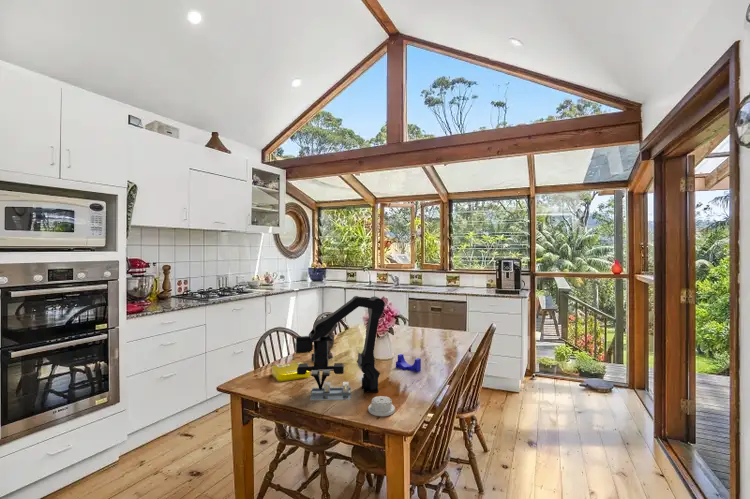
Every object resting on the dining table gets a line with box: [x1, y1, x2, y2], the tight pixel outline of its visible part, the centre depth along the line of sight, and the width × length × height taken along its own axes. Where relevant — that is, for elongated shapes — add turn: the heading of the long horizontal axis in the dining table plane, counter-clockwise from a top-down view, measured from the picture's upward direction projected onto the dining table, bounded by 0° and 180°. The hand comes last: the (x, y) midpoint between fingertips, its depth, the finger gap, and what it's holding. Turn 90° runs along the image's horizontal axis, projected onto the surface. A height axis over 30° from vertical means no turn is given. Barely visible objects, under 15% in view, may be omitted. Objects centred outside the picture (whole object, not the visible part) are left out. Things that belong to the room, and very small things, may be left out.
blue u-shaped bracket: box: [395, 353, 422, 373], centre depth 188 cm, size 12×4×6 cm, turn 50°
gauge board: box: [309, 381, 352, 401], centre depth 154 cm, size 16×12×4 cm
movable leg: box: [323, 381, 332, 393], centre depth 154 cm, size 2×8×4 cm, turn 4°
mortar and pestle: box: [328, 322, 339, 359], centre depth 206 cm, size 12×9×20 cm
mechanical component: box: [367, 395, 396, 417], centre depth 142 cm, size 10×4×10 cm
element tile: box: [272, 361, 311, 382], centre depth 177 cm, size 15×15×5 cm
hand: (320, 389), depth 155 cm, fingers closed
